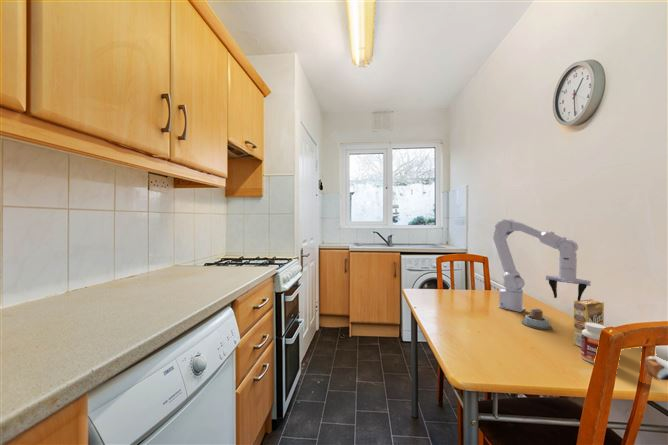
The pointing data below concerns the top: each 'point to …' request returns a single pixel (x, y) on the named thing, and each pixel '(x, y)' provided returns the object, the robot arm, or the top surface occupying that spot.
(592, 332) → the pill bottle
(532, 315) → the walnut peg
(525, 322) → the collar socket
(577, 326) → the candy box
